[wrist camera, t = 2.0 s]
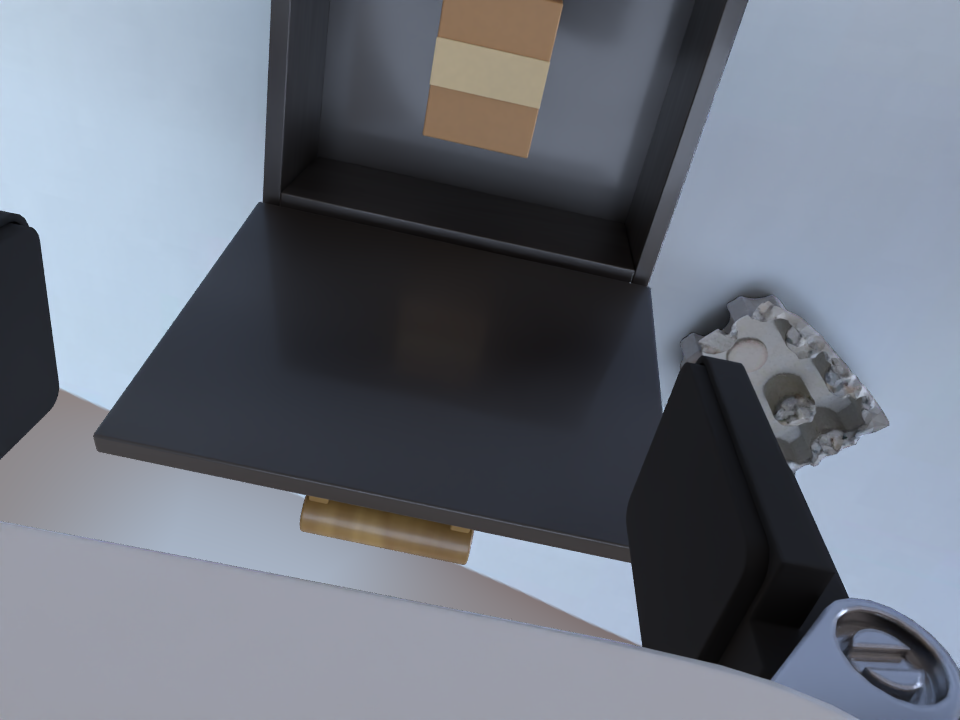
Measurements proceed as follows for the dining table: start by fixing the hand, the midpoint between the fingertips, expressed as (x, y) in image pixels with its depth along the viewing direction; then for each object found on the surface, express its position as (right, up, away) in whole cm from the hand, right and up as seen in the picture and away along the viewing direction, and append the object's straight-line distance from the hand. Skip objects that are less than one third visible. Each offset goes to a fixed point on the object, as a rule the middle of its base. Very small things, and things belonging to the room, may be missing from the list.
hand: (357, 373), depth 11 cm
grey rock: (+19, 0, +33) cm, 37 cm away
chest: (+3, +15, +25) cm, 29 cm away
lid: (0, +1, +17) cm, 17 cm away
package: (+3, +15, +24) cm, 28 cm away
